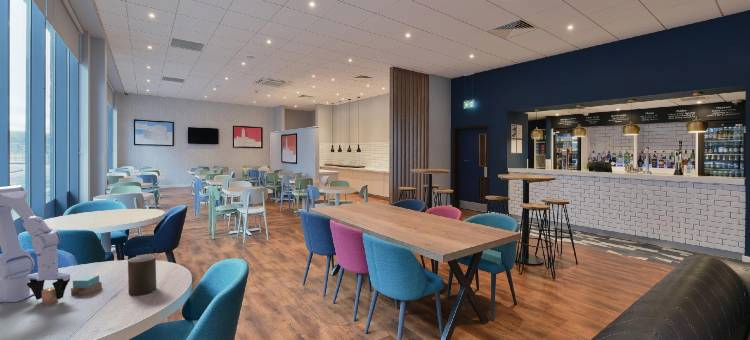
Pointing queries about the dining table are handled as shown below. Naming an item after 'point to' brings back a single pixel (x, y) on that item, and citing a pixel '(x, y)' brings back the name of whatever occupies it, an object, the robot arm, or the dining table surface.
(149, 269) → the pillar candle
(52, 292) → the terracotta cylinder
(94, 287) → the walnut base slab
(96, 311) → the dining table surface
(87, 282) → the teal top slab
